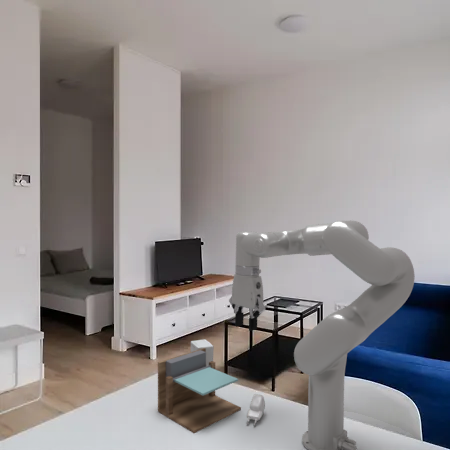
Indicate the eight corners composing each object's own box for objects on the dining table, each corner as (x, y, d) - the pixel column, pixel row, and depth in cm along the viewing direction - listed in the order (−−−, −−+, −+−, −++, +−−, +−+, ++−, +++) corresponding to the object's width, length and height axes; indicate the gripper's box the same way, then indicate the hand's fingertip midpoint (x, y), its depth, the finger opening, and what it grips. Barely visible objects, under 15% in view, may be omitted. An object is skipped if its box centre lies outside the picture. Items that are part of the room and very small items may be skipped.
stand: (240, 409, 131) (241, 361, 130) (194, 433, 117) (194, 378, 116) (204, 392, 143) (204, 348, 143) (157, 411, 129) (157, 362, 129)
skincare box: (189, 381, 153) (189, 340, 153) (205, 378, 156) (205, 338, 155) (197, 390, 145) (197, 347, 145) (214, 386, 148) (214, 345, 148)
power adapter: (258, 433, 120) (256, 421, 118) (245, 430, 122) (242, 418, 120) (267, 406, 128) (265, 394, 126) (254, 403, 130) (252, 392, 128)
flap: (239, 382, 128) (239, 363, 128) (201, 398, 117) (201, 378, 117) (201, 366, 141) (201, 349, 141) (163, 379, 130) (163, 361, 130)
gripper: (276, 273, 123) (274, 332, 123) (236, 266, 135) (235, 319, 136) (259, 275, 118) (257, 336, 118) (220, 268, 130) (219, 323, 131)
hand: (245, 327), depth 127 cm, fingers open, 5 cm apart
